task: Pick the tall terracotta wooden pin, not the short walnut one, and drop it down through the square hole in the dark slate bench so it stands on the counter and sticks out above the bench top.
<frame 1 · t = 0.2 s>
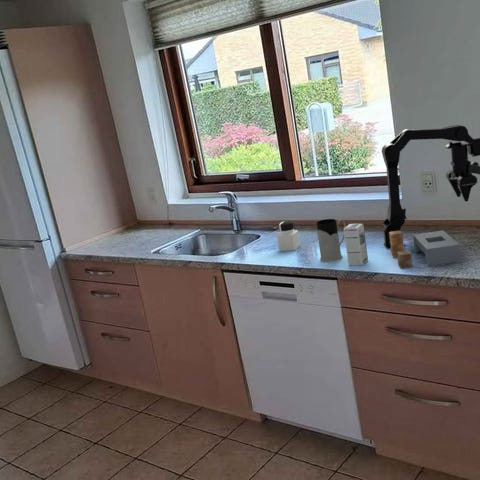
hand: (462, 199, 217), 14 cm above the worktop, tool pointing down, fingers open, 9 cm apart
long pin: (398, 255, 210), on the worktop
grey pitcher: (336, 256, 222), on the worktop
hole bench: (436, 255, 203), on the worktop
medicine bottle: (289, 249, 244), on the worktop
short pin: (405, 266, 198), on the worktop
syrup box: (358, 263, 210), on the worktop
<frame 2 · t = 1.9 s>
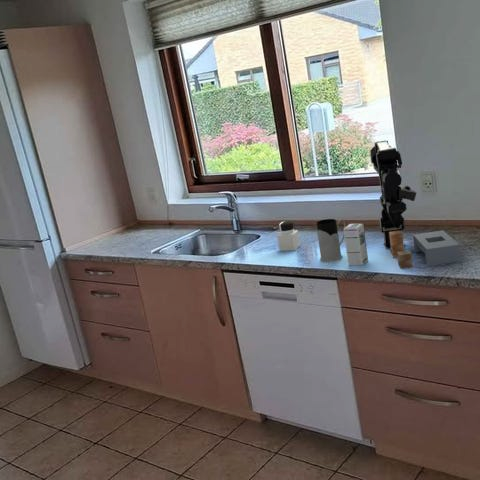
hand: (394, 225, 207), 12 cm above the worktop, tool pointing down, fingers open, 9 cm apart
nothing on the worktop moved.
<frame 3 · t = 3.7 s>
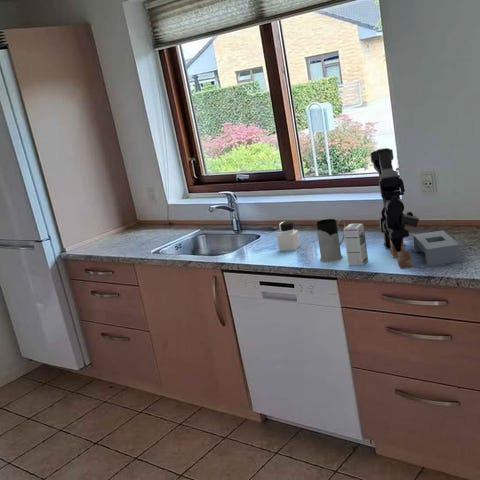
hand: (397, 250, 210), 2 cm above the worktop, tool pointing down, fingers closed on long pin, 4 cm apart
long pin: (398, 255, 210), on the worktop, touching gripper
everything else where it was.
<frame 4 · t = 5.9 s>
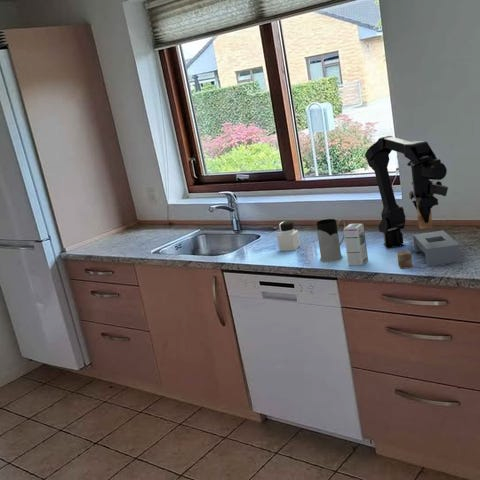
hand: (425, 221, 201), 13 cm above the worktop, tool pointing down, fingers closed on long pin, 4 cm apart
long pin: (425, 226, 201), point 11 cm above the worktop, touching gripper
everything else where it was.
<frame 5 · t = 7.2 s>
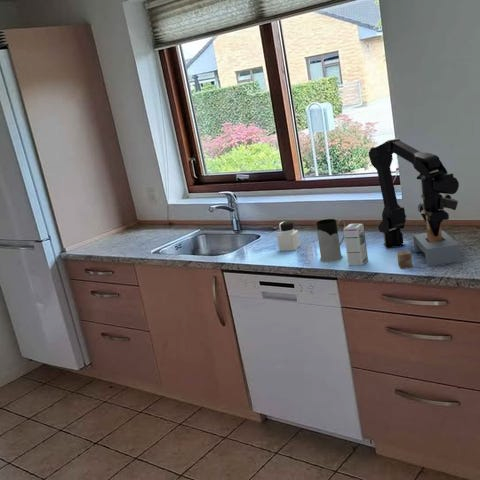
hand: (434, 234, 201), 8 cm above the worktop, tool pointing down, fingers closed on long pin, 4 cm apart
long pin: (434, 240, 202), point 6 cm above the worktop, touching gripper
everything else where it was.
when the fingers open (7 cm above the worktop, at t = 8.1 s): long pin drops 5 cm, on the worktop.
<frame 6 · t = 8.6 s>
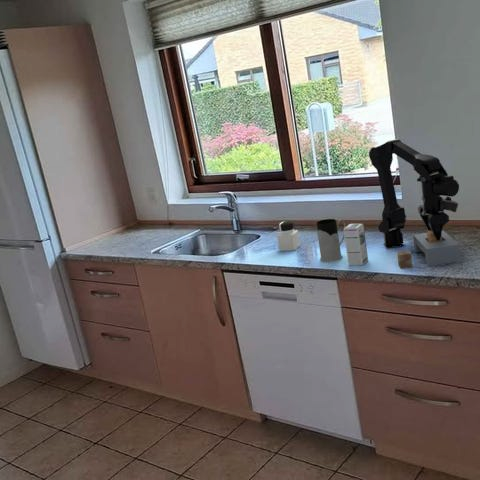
hand: (434, 236, 201), 7 cm above the worktop, tool pointing down, fingers open, 9 cm apart
long pin: (436, 255, 203), on the worktop
everything else where it was.
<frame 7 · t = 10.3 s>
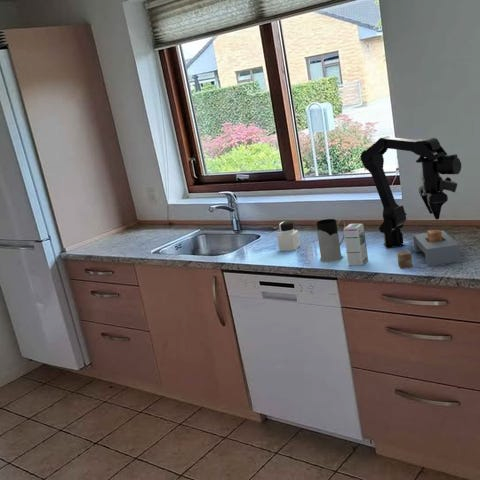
hand: (434, 216, 206), 13 cm above the worktop, tool pointing down, fingers open, 9 cm apart
nothing on the worktop moved.
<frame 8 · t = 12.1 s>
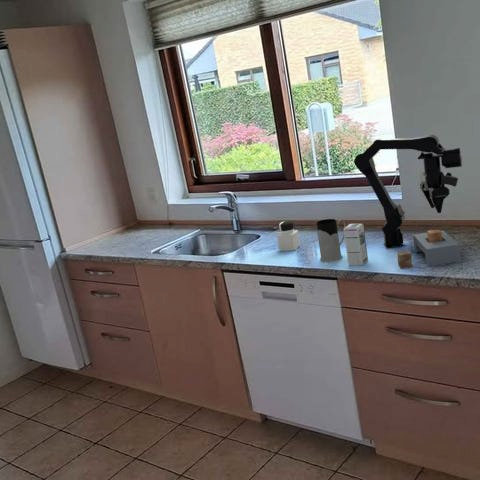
hand: (436, 210, 213), 13 cm above the worktop, tool pointing down, fingers open, 9 cm apart
nothing on the worktop moved.
at the end: long pin 0.1 cm off-centre on the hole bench, point 0.0 cm above the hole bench's base; long pin tilted 0°; short pin moved 0.1 cm from its start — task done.
